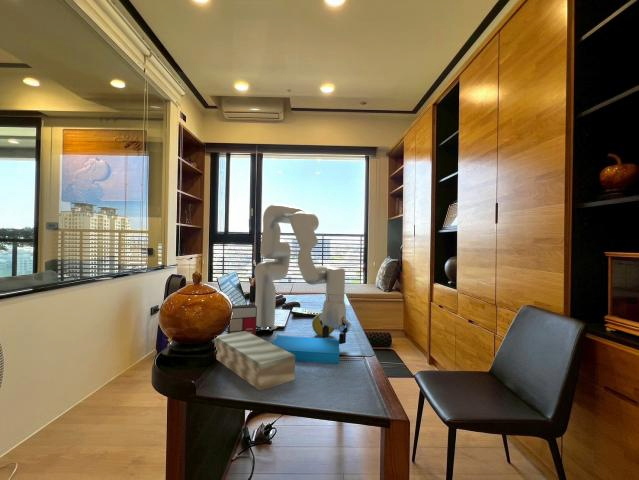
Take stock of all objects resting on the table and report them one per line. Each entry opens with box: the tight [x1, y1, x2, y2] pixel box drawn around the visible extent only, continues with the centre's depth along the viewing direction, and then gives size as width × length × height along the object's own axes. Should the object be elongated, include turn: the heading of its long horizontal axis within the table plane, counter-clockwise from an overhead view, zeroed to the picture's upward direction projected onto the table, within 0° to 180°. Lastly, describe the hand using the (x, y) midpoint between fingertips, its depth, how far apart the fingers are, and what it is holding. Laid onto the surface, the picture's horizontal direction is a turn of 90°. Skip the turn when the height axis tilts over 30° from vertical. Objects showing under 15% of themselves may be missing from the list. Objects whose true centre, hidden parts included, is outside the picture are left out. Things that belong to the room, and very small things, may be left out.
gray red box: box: [226, 304, 257, 336], centre depth 128 cm, size 11×4×15 cm, turn 114°
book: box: [272, 335, 340, 365], centre depth 120 cm, size 17×4×25 cm
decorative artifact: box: [311, 312, 335, 337], centre depth 145 cm, size 10×7×10 cm
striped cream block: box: [214, 331, 296, 391], centre depth 104 cm, size 31×12×8 cm, turn 41°
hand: (333, 340), depth 129 cm, fingers open, 9 cm apart
